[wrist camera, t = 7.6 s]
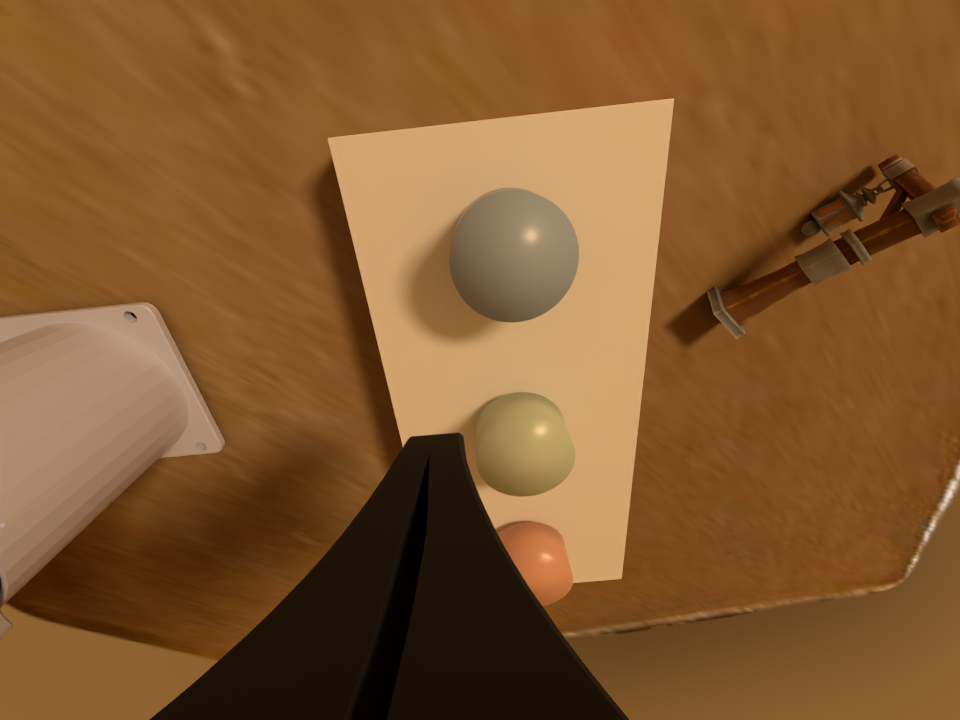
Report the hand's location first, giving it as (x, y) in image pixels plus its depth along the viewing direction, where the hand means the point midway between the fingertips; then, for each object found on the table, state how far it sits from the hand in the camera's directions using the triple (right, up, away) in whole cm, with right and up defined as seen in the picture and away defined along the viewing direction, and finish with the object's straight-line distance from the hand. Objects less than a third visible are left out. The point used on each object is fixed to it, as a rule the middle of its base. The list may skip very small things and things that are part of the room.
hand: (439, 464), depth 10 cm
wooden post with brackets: (+14, +8, +7) cm, 17 cm away
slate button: (+2, +7, +5) cm, 9 cm away
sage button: (+3, 0, +8) cm, 9 cm away
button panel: (+3, +1, +9) cm, 10 cm away
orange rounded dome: (+4, -7, +11) cm, 14 cm away
